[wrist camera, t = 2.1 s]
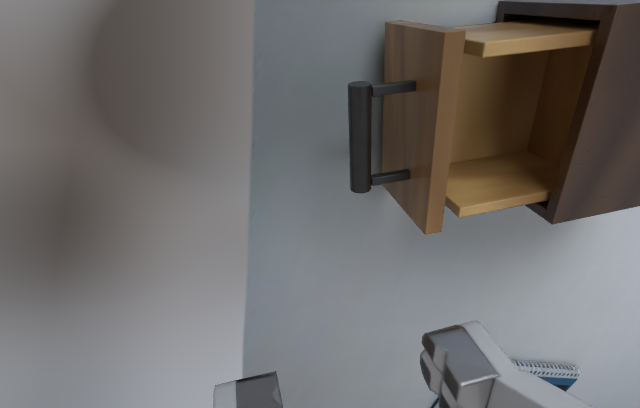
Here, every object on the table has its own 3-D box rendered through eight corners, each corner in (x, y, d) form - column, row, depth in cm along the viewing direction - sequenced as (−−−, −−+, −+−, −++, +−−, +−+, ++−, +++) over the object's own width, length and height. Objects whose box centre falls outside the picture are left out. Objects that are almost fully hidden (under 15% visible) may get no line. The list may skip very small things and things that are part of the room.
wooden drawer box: (472, 169, 34) (552, 224, 26) (498, 0, 27) (618, 4, 19) (605, 146, 37) (716, 190, 29) (661, -14, 30) (827, -16, 22)
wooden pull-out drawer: (333, 192, 31) (365, 247, 24) (325, 27, 25) (365, 40, 18) (521, 160, 34) (595, 200, 27) (556, 5, 28) (663, 10, 21)
